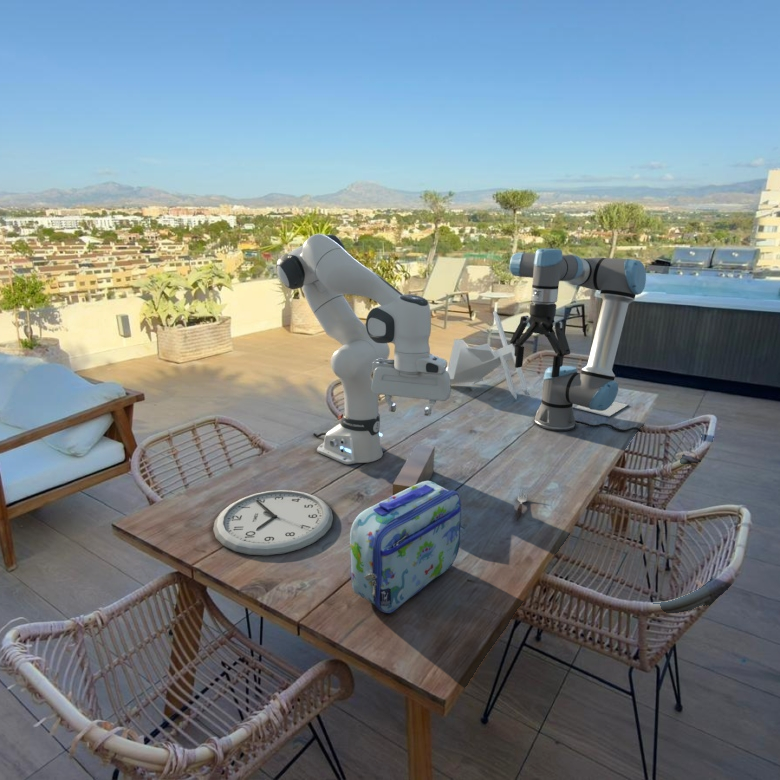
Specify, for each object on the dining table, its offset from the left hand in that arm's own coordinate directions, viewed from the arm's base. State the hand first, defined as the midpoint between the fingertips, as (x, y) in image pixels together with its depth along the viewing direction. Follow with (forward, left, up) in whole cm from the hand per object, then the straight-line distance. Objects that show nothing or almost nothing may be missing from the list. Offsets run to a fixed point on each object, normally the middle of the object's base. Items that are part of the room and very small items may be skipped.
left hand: (409, 413), depth 135 cm
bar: (-2, +9, -27) cm, 29 cm away
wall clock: (-25, -25, -27) cm, 45 cm away
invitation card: (+30, +119, -27) cm, 125 cm away
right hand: (+20, +45, +4) cm, 49 cm away
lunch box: (+16, -29, -27) cm, 43 cm away
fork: (+27, +16, -27) cm, 41 cm away
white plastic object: (-22, +109, -27) cm, 114 cm away
